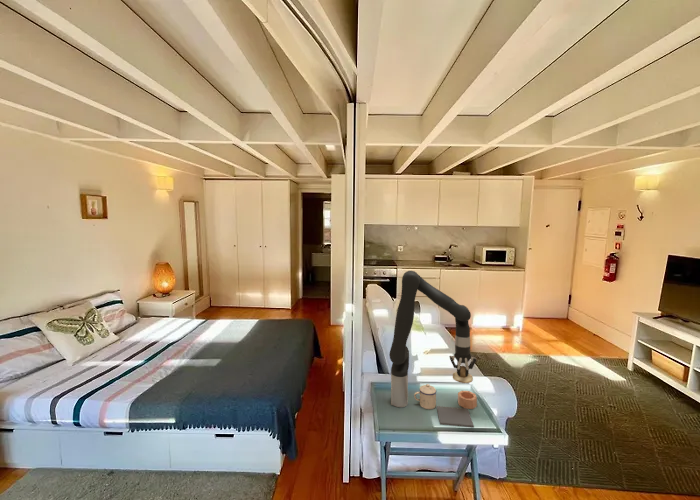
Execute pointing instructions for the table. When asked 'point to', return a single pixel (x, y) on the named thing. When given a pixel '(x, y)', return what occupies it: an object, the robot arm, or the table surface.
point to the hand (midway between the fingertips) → (462, 375)
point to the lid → (462, 376)
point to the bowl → (467, 399)
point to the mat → (454, 416)
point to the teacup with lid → (427, 396)
